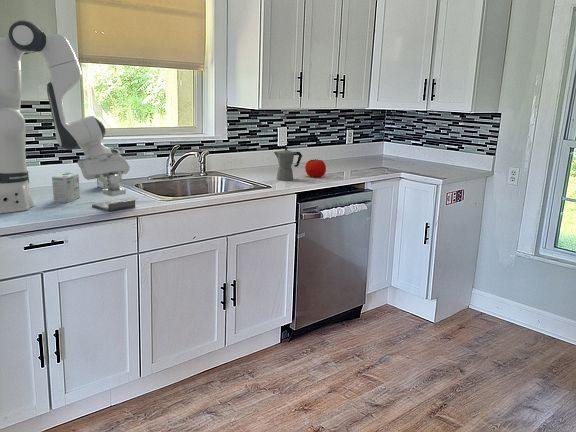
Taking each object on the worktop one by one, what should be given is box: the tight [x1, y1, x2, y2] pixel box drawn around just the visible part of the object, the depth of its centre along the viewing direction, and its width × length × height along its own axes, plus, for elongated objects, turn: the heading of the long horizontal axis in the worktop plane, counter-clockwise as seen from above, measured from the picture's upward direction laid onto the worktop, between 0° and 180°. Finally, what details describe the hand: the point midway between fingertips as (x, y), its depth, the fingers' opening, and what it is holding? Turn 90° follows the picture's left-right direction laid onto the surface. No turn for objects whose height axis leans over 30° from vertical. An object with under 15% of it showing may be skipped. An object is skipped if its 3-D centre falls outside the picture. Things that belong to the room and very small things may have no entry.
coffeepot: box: [273, 146, 303, 182], centre depth 290 cm, size 15×9×18 cm, turn 86°
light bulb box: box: [51, 172, 81, 204], centre depth 226 cm, size 11×7×11 cm, turn 174°
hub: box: [102, 173, 127, 197], centre depth 216 cm, size 6×6×8 cm
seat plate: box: [92, 198, 136, 213], centre depth 218 cm, size 12×12×3 cm
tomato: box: [304, 158, 327, 178], centre depth 302 cm, size 12×12×10 cm
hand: (114, 183), depth 215 cm, fingers closed on hub, 5 cm apart
